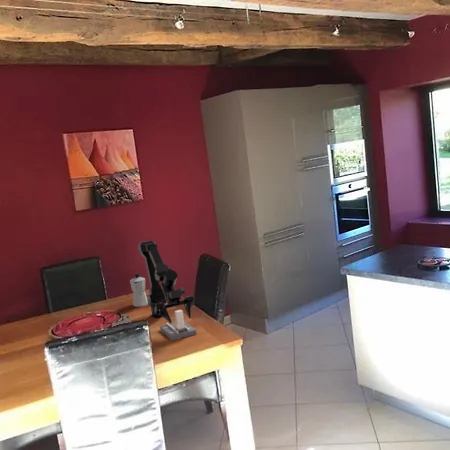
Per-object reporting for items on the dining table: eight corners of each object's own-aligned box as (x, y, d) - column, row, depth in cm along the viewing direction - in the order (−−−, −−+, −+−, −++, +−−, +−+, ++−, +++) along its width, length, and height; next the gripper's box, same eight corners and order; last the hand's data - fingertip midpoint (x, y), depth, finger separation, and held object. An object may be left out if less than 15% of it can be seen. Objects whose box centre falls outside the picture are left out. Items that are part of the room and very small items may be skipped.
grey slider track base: (160, 330, 238) (159, 324, 238) (183, 324, 244) (183, 318, 243) (171, 340, 224) (171, 334, 224) (196, 333, 229) (195, 327, 229)
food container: (127, 344, 225) (124, 323, 223) (114, 344, 226) (111, 323, 224) (137, 333, 237) (134, 313, 235) (125, 333, 238) (122, 313, 236)
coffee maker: (146, 307, 275) (142, 275, 272) (130, 308, 275) (126, 277, 273) (150, 299, 290) (147, 268, 287) (135, 300, 290) (131, 270, 287)
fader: (175, 329, 230) (173, 311, 229) (183, 327, 232) (181, 309, 231) (177, 331, 228) (175, 312, 226) (186, 329, 229) (183, 310, 228)
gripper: (153, 286, 226) (163, 316, 218) (191, 278, 234) (203, 307, 226) (149, 299, 234) (160, 328, 226) (186, 291, 242) (198, 319, 234)
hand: (180, 320), depth 228 cm, fingers open, 9 cm apart
